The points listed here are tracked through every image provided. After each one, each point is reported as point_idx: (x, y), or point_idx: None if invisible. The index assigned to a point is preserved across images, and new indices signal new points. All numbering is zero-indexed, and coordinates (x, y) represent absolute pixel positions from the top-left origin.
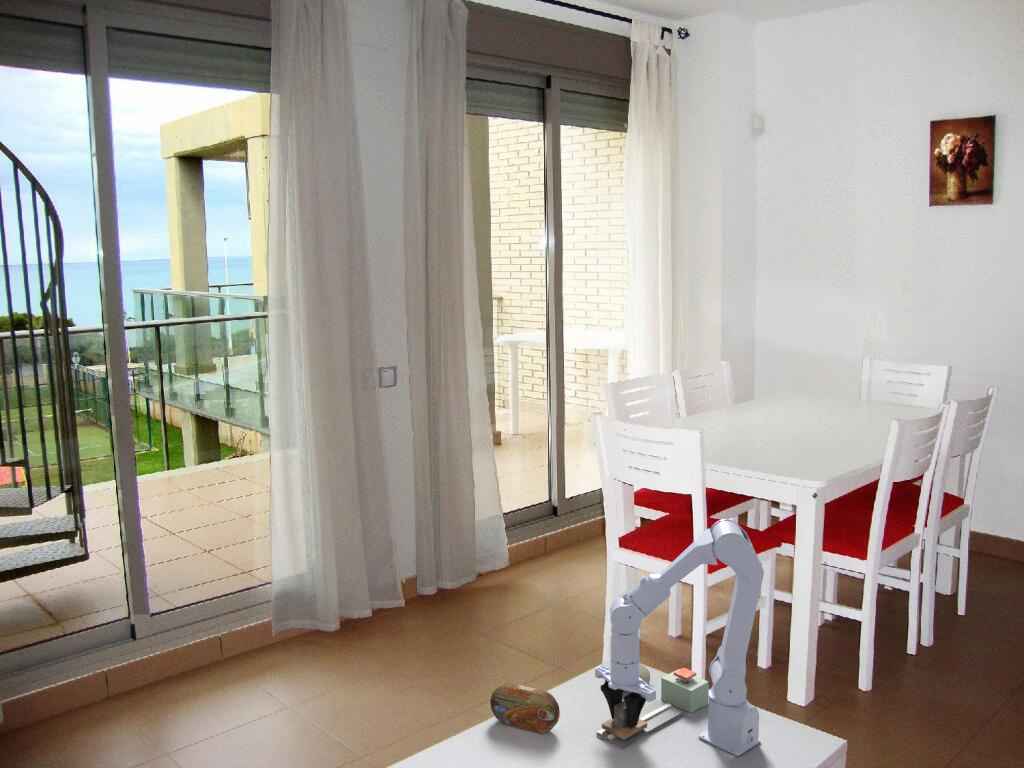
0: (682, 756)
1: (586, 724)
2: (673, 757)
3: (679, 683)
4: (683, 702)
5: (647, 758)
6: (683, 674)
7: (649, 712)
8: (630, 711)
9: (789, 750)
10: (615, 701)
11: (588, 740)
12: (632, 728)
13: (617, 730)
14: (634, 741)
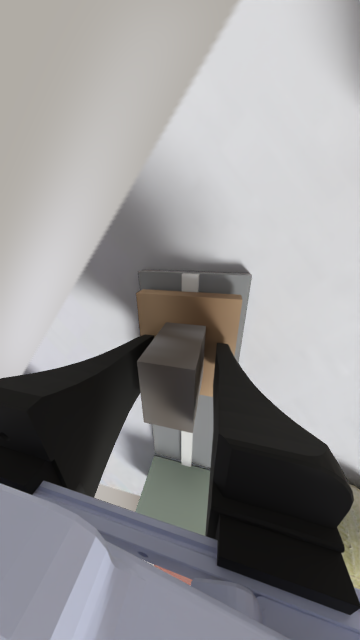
0: (56, 338)
1: (323, 303)
2: (60, 324)
3: None
4: (166, 476)
5: (81, 282)
6: None
7: (200, 429)
8: (89, 361)
9: None
10: (216, 401)
11: (253, 227)
12: None
13: (169, 301)
14: None
